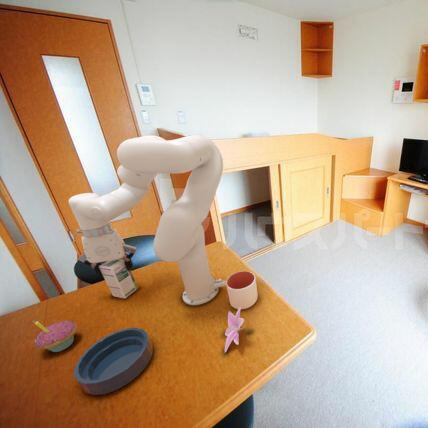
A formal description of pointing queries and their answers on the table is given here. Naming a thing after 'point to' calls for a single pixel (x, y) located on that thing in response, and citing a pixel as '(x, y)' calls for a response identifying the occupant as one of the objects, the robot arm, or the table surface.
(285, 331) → the table surface
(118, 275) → the syrup box
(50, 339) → the cupcake
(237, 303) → the cup
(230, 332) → the lily
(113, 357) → the bowl
